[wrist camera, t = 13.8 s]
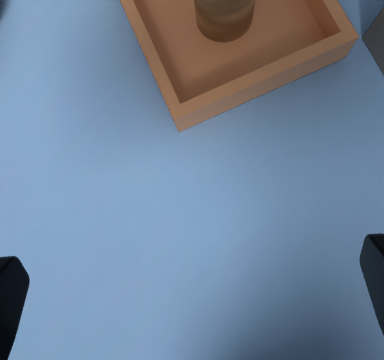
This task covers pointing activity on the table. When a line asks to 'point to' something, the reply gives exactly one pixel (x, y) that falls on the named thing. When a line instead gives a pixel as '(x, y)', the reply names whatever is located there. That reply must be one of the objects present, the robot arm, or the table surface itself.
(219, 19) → the dowel
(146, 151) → the table surface
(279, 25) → the tray
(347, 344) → the table surface
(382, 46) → the holder
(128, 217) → the table surface
